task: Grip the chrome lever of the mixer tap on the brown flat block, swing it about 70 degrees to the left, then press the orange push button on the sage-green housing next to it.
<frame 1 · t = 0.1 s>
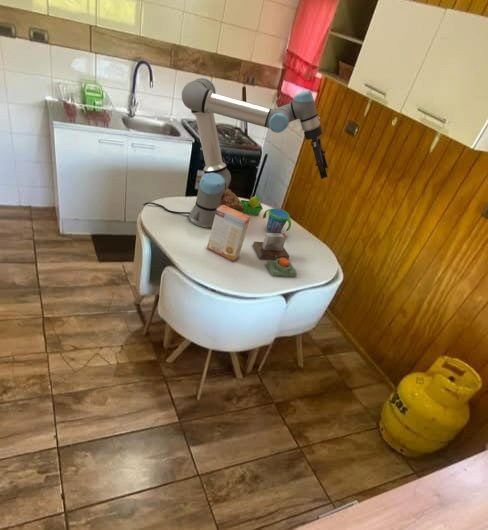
hand: (324, 172, 174), 36 cm above the table, tool tilted 35°, fingers open, 13 cm apart
cracker box: (222, 252, 171), on the table
bread: (224, 210, 206), on the table
tap lever: (274, 241, 174), point 6 cm above the table, hinge at 0.0°
brown flat block: (270, 253, 178), on the table
button: (283, 262, 165), point 5 cm above the table, slide at 0.1 cm
button housing: (280, 270, 167), on the table
fruit basket: (249, 213, 208), on the table
snack cup: (273, 230, 197), on the table
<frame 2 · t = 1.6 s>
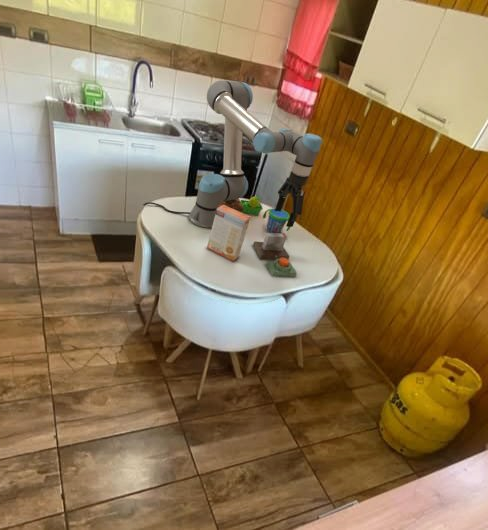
hand: (283, 218, 167), 19 cm above the table, tool pointing down, fingers open, 13 cm apart
nothing on the table moved.
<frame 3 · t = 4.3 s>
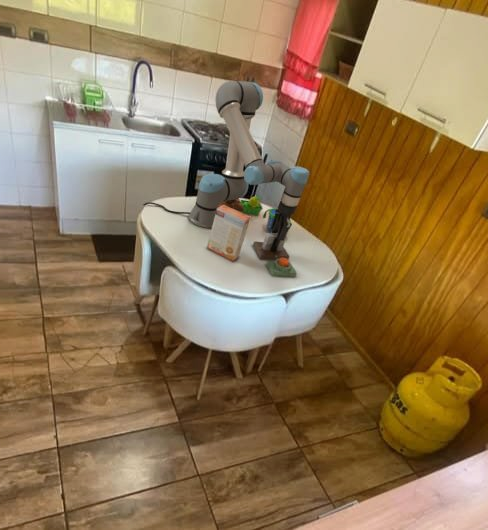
hand: (272, 247, 176), 3 cm above the table, tool pointing down, fingers closed on tap lever, 3 cm apart
tap lever: (274, 241, 174), point 6 cm above the table, hinge at 0.0°, touching gripper
everything else where it was.
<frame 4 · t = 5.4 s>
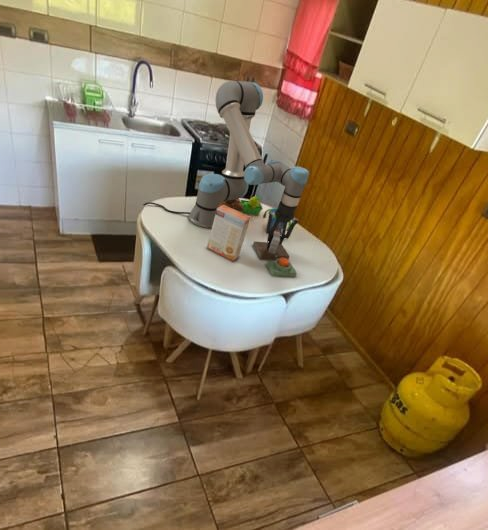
hand: (272, 247, 176), 3 cm above the table, tool pointing down, fingers closed on tap lever, 3 cm apart
tap lever: (274, 241, 174), point 6 cm above the table, hinge at 69.3°, touching gripper
everything else where it was.
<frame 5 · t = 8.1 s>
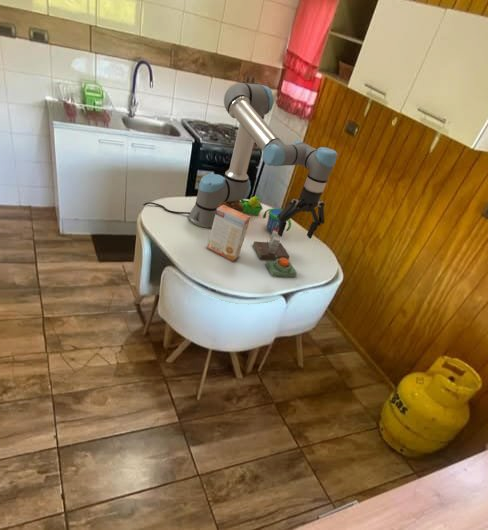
hand: (294, 235, 157), 18 cm above the table, tool pointing down, fingers open, 13 cm apart
tap lever: (274, 241, 174), point 6 cm above the table, hinge at 69.3°
everything else where it was.
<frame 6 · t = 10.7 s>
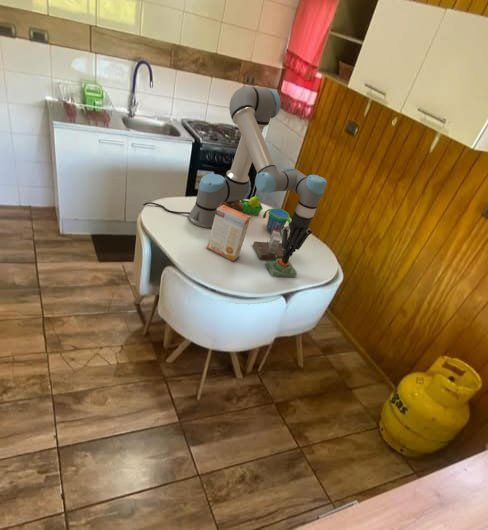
hand: (284, 261, 164), 5 cm above the table, tool pointing down, fingers closed
button: (283, 263, 165), point 4 cm above the table, slide at -0.6 cm, touching gripper
everything else where it was.
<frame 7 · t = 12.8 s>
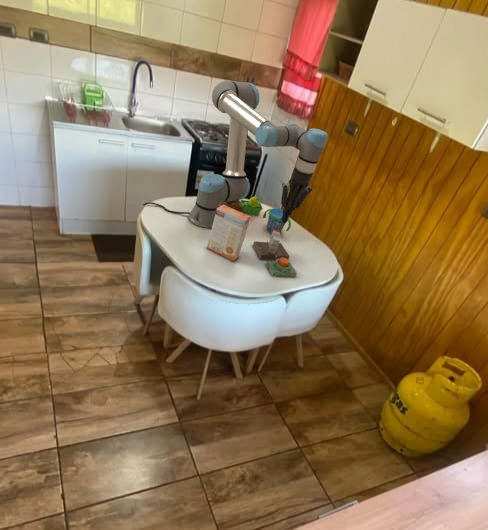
hand: (283, 221, 163), 20 cm above the table, tool pointing down, fingers closed
button: (283, 262, 165), point 5 cm above the table, slide at 0.1 cm
everything else where it was.
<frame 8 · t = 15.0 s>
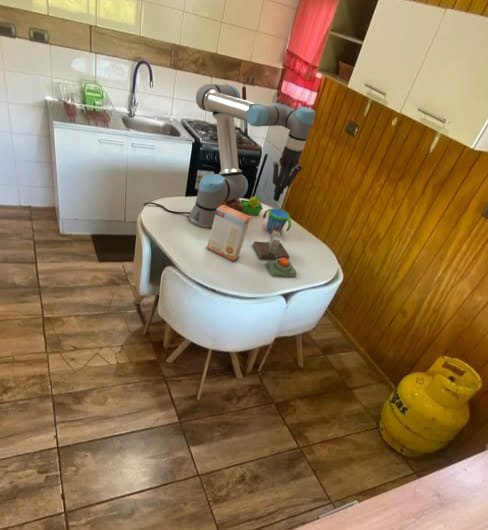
hand: (275, 199, 168), 24 cm above the table, tool pointing down, fingers closed
nothing on the table moved.
at the end: tap lever at +69° (first picture: +0°); button pushed in 1.0 cm at the most during the clip, back to where it started at the end; button slide at 0.1 cm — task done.
